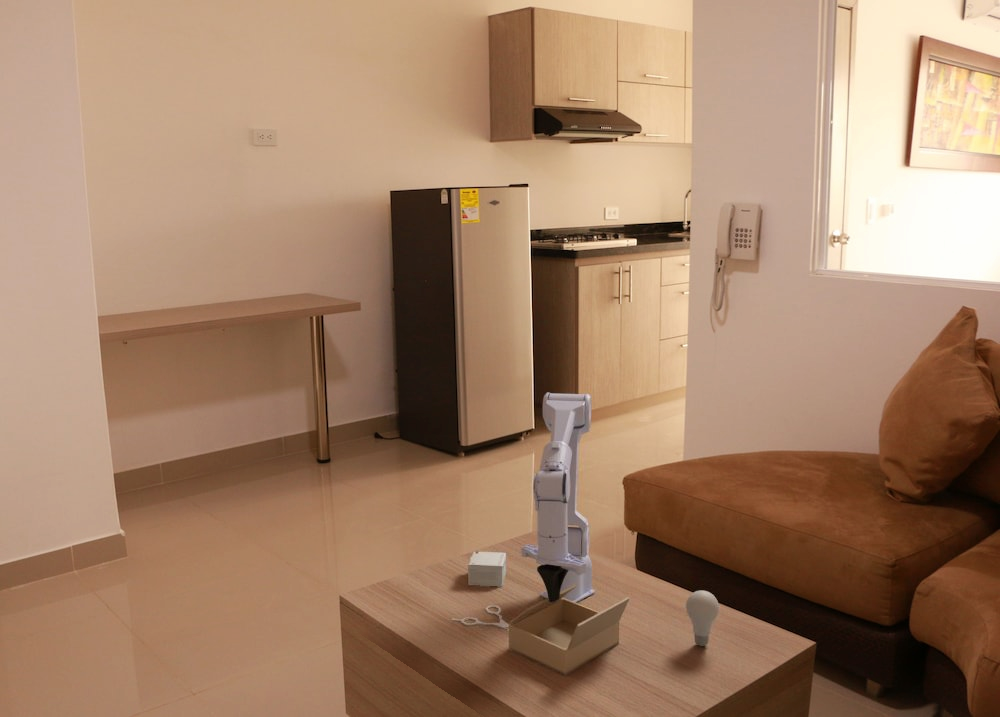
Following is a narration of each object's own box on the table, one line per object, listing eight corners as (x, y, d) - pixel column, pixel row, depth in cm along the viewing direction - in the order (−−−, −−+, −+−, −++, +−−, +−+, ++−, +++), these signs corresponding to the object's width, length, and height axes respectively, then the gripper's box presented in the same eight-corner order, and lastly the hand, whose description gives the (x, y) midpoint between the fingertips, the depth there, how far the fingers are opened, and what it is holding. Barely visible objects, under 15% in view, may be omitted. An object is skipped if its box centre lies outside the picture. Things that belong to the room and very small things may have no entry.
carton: (563, 620, 182) (563, 597, 181) (618, 643, 173) (619, 619, 172) (508, 649, 171) (508, 625, 170) (565, 676, 161) (565, 650, 160)
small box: (502, 587, 198) (502, 565, 197) (467, 586, 199) (467, 564, 198) (506, 573, 206) (506, 552, 205) (473, 571, 207) (472, 550, 206)
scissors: (487, 601, 191) (559, 631, 177) (487, 605, 191) (559, 635, 177) (450, 619, 183) (523, 651, 169) (451, 622, 183) (523, 655, 169)
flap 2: (628, 596, 169) (629, 598, 168) (617, 620, 171) (619, 621, 171) (577, 624, 158) (578, 626, 158) (566, 649, 161) (568, 650, 161)
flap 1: (561, 598, 181) (560, 596, 181) (578, 585, 177) (577, 583, 177) (510, 624, 170) (509, 622, 171) (527, 611, 167) (526, 609, 167)
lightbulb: (678, 642, 173) (679, 588, 171) (704, 635, 175) (706, 582, 173) (697, 656, 167) (698, 601, 165) (724, 649, 170) (726, 595, 168)
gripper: (510, 529, 172) (511, 596, 174) (568, 547, 162) (569, 618, 164) (534, 519, 177) (535, 585, 179) (592, 536, 167) (593, 605, 169)
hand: (553, 600), depth 172 cm, fingers closed, pressing on flap 1
